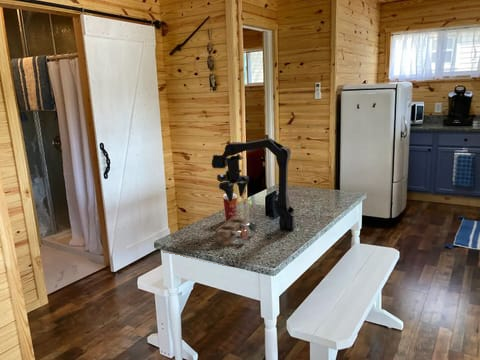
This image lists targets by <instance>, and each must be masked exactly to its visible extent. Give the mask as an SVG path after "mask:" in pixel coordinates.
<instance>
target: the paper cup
mask: <svg viewBox="0 0 480 360" xmlns="http://www.w3.org/2000/svg"><path fill="white" fill-rule="evenodd" d="M222 200H223V206H224V207H223V208H224V214H225V215H224V216H225V221H226V222H227V221H228V220H230V219H231V218H232V217H234V216H236V217H237V215H238V210H237V209H238V204H237V203H238V195H237V193H234V192H233V198H232V202H230V201H229V199H228V197H227V195H226V193H224V194H223V196H222Z"/></svg>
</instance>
